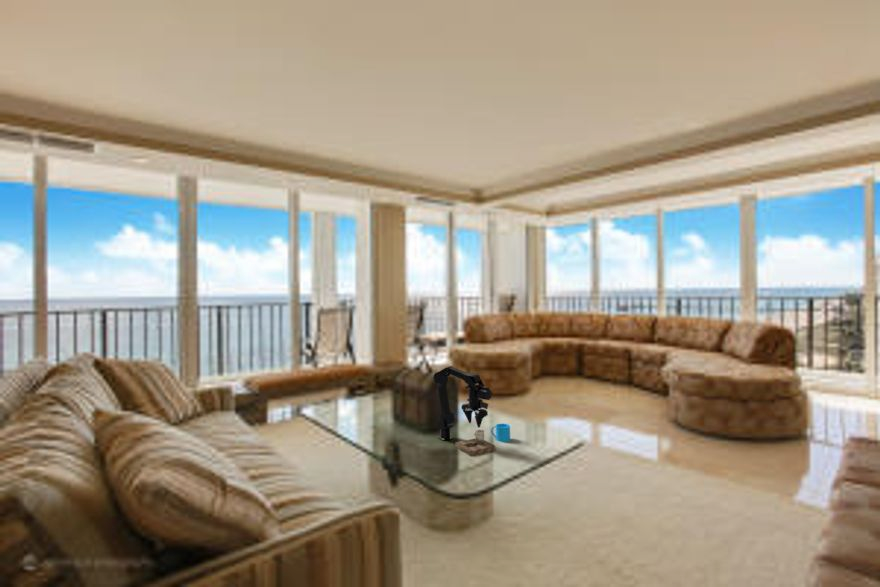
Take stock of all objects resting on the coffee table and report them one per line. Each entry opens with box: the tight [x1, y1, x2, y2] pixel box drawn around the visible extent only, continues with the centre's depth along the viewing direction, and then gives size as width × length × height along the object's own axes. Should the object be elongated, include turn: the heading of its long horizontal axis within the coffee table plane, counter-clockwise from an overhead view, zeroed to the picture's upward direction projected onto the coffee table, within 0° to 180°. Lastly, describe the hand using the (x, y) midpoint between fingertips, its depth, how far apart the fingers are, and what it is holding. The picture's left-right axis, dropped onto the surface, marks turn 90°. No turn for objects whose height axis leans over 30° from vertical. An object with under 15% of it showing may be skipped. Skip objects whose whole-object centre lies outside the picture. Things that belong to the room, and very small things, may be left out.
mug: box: [490, 423, 511, 443], centre depth 243 cm, size 12×8×8 cm
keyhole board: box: [454, 437, 497, 457], centre depth 228 cm, size 16×16×2 cm
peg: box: [475, 429, 485, 445], centre depth 230 cm, size 5×5×9 cm
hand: (474, 425), depth 232 cm, fingers open, 9 cm apart
